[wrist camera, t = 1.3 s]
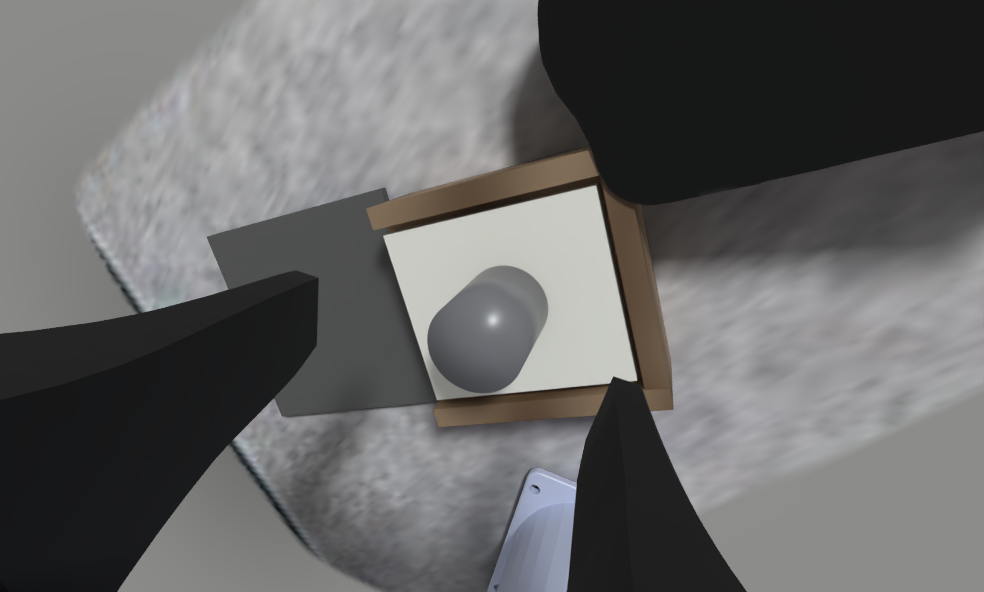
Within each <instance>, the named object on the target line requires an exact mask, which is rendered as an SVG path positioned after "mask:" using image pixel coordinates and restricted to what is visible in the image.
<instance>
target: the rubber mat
mask: <svg viewBox="0 0 984 592" xmlns="http://www.w3.org/2000/svg"><path fill="white" fill-rule="evenodd" d="M387 201H389V198H388V195H387V192H386V189H385V188H382V189H378V190H374V191H371V192H367V193H364V194H360V195H356V196H353V197H349V198H345V199H342V200H338V201H335V202H331V203H327V204H324V205H320V206H317V207H313V208H309V209H306V210H302V211H298V212H295V213H291V214H288V215H284V216H280V217H277V218H273V219H269V220H266V221H262V222H259V223H255V224H251V225H248V226H244V227H241V228H237V229H233V230H230V231H226V232H222V233H219V234H215V235H212V236H208V237H207V239H208V241H209V244H210V246H211V248H212V251H213V253H214V256H215V258H216V260H217V263H218V265H219V267H220V270H221V272H222V275H223V277H224V279H225V282H226V284H227V287H228V289H233V288H236V287H239V286H242V285H246V284H249V283H252V282H255V281H259V280H262V279H265V278H268V277H272V276H275V275H279V274H282V273H286V272H290V271H295V270H297V271H300V272H303V273H306V274H309V275H312V276H315V277H318V278H319V287H318V324H317V346H316V347H315V349H314V350H313V351H312V353H311V354H310V356H309V357H308V359H307V360H306V361H305V363H304V364H303V365H302V367H301V368H300V369H299V371H298V372H297V373H296V375H295V376H294V377H293V378H292V379H291V380H290V382H289V383H288V384H287V385H286V386H285V387H284V388H283V389H282V390H281V391H280V392H279V393H278V394H277V395H276V396H275V397H274V398H275V401H276V403H277V406H278V408H279V410H280V413H281V415H282V417H283V416H293V415H304V414H314V413H324V412H335V411H345V410H356V409H366V408H377V407H387V406H398V405H408V404H419V403H429V402H439V401H440V400H437V399H436V396H435V393H434V390H433V387H432V383H431V380H430V377H429V374H428V371H427V368H426V365H425V362H424V359H423V356H422V353H421V350H420V347H419V344H418V341H417V338H416V335H415V332H414V329H413V326H412V322H411V319H410V316H409V313H408V310H407V307H406V304H405V301H404V298H403V295H402V292H401V289H400V286H399V283H398V280H397V277H396V274H395V271H394V268H393V264H392V261H391V258H390V255H389V252H388V249H387V246H386V243H385V240H384V237H383V236H384V235H386V234H388V233H389V231H388V228H387V227H385V228H381V229H377V230H373V228H372V225H371V222H370V219H369V216H368V213H367V210H366V209H367V208H370V207H372V206H375V205H378V204H381V203H384V202H387Z"/></svg>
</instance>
